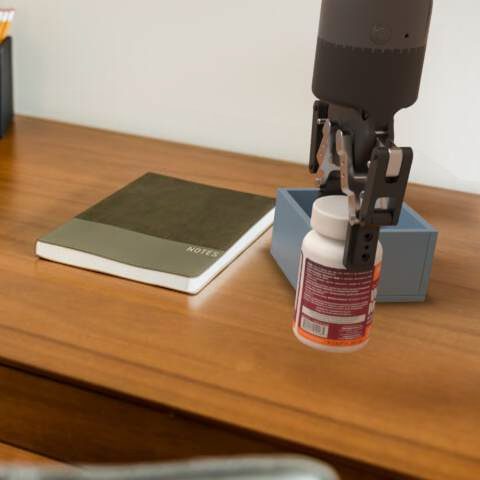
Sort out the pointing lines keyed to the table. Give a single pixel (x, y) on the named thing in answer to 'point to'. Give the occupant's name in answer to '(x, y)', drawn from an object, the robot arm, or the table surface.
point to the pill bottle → (333, 284)
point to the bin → (390, 237)
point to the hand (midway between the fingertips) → (341, 250)
